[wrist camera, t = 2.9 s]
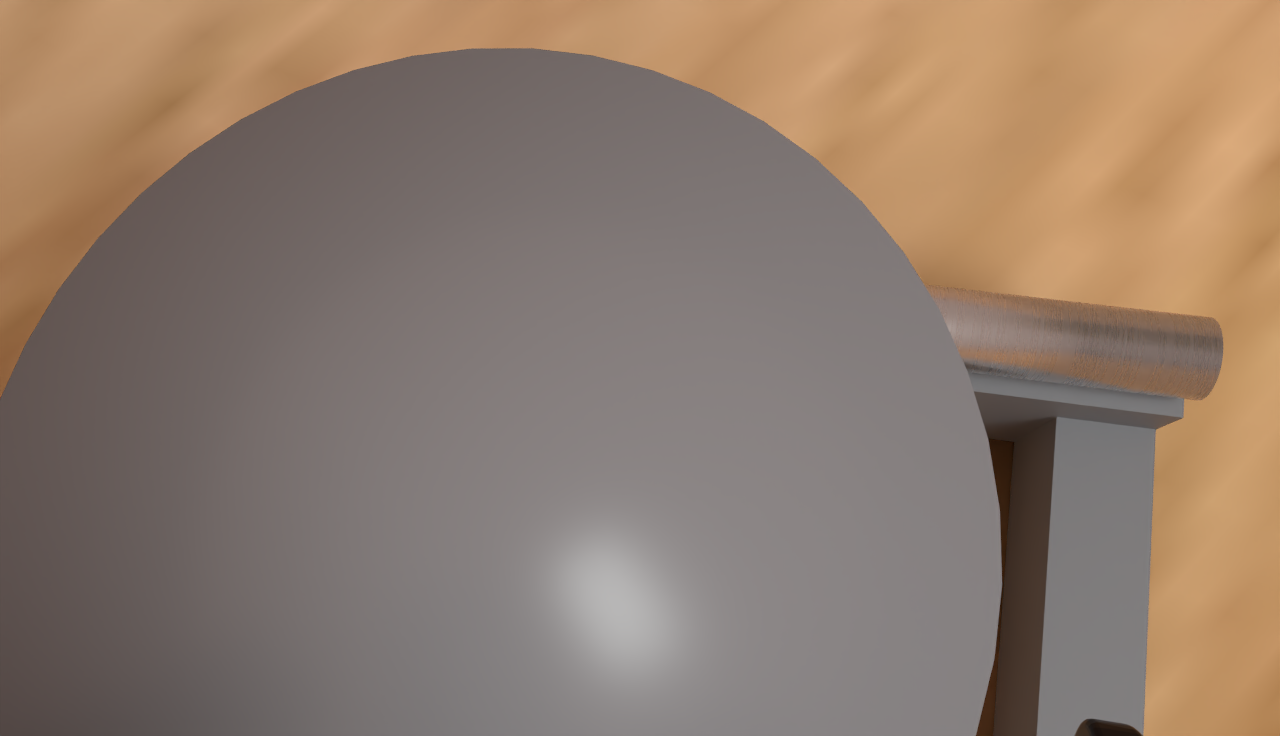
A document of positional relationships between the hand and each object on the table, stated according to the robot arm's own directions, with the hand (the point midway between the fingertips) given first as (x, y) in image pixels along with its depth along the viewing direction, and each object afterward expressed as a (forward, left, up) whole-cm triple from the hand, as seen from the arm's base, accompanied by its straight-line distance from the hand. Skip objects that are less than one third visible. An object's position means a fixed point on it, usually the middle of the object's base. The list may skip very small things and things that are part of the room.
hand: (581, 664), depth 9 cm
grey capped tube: (+1, 0, -9) cm, 9 cm away
